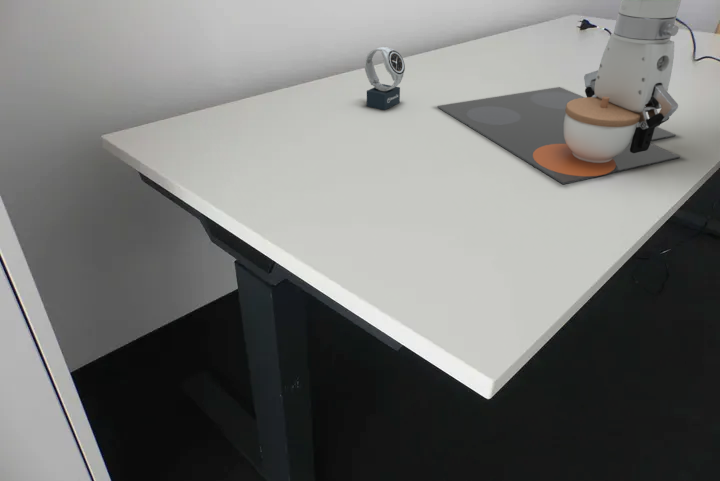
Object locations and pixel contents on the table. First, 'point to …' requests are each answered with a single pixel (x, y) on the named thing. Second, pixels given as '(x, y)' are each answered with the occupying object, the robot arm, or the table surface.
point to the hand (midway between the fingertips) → (614, 140)
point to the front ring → (569, 161)
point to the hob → (541, 128)
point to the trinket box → (598, 129)
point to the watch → (382, 93)
